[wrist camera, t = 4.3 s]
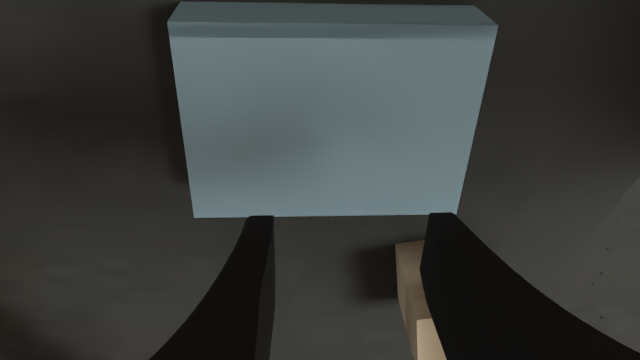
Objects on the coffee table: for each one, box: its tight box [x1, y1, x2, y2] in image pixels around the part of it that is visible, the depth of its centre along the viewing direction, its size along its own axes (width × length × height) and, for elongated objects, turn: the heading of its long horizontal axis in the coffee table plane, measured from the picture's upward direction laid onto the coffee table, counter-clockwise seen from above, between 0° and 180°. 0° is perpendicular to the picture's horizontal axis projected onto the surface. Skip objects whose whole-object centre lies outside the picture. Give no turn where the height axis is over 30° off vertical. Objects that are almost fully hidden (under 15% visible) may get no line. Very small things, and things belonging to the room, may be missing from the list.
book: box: [167, 1, 498, 218], centre depth 20 cm, size 11×8×3 cm
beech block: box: [395, 240, 447, 360], centre depth 25 cm, size 4×4×5 cm
